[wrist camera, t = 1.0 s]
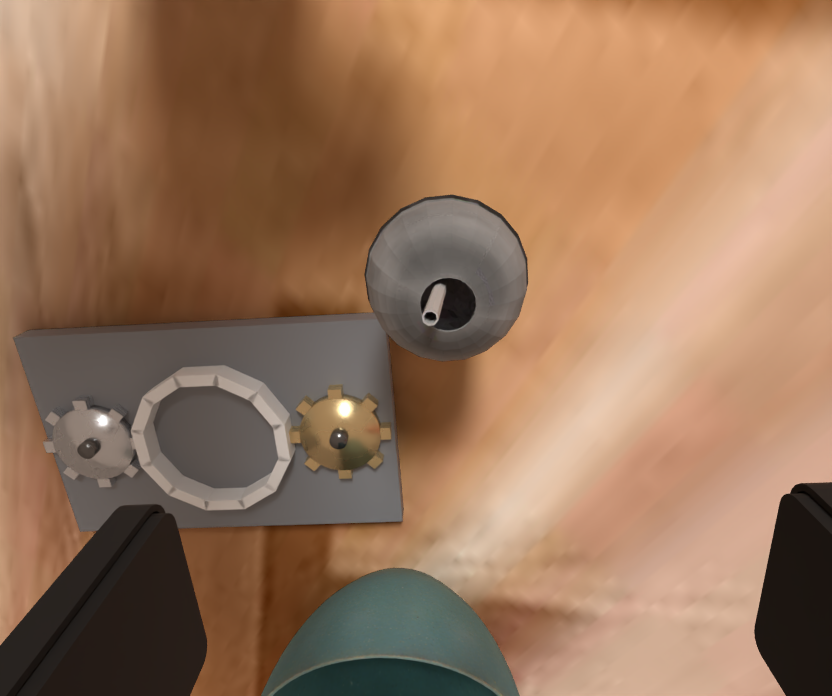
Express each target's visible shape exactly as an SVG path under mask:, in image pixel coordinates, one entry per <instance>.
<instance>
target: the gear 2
mask: <svg viewBox="0 0 832 696" xmlns="http://www.w3.org/2000/svg"><path fill="white" fill-rule="evenodd" d="M327 391H328V395H327V396H324V397H322V398H320V399H318V400H316V401H315V402H314V401H313V400H312V399H310V398H309V397H308V396H305V397H304V398H303V399H302V400H301V401H300V403H299V404H298V405H297V407H296V410H297V411H298V412H300V413H301V414H302V415H304V417H303V419H302V421H301V424H300V426H291V429H290V431H289V436H290V442H291V443H302V446H303V448H304V450H305V451H306V453H307V454H308V455H309V456H308V457H307V458H306V460H305V463H304V464H305V465H306V466H308V467H309V468H310V469H312V470H313V471H315V470H316V469H317V468H318V467H319V466H320V465H322V466H324V467H327V468H330V469H334V470H338V473H339V479H349V478H352V475H353V469H355V468H358V467H360V466H363V465H364V464H366V463H367V464H369V465H370V466H371V467H373V468H374V469H375V468H376V467H377V466H378V465H379V464H380V463H381V462H382V461H383V458H384V454H382V453H381V452H380V451H378V448H379V445H380V440H387V439H391V437H392V429H391V422H382V423H380V420H379V418H378V416H377V414H376V412H375V411H374V409H375V408H376V407H377V406H378V401H379V400H377V399H376V398H375V397H373V396H372V395H371V394H370V393H368V394H367V395H366V396H365V397H364V398H363V399H362V400H361V399H359V398H357V397H354V396H351V395H347V394H344V392H343V384H338V385H329V387H328V390H327Z"/></svg>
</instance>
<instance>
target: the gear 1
mask: <svg viewBox="0 0 832 696" xmlns="http://www.w3.org/2000/svg"><path fill="white" fill-rule="evenodd" d="M72 403H73V406H74V408H73V409H72V410H70V411H69V412H66V411H65V410H63V409H62V408H60V407H59V406H58V407H56V408H55V409H54V410H52V411H51V412H50V414H49V415H48V416H47V418H46V419H45V420H46V421H47V422H49V423H50V424H52V425H53V426H54V429H53V434H52V436H49V437H48V438H47V439H46V440H44V441H43V444H44V447H45V450H46V453H55V452H57V454H58V456H59V457H60V459H61V460H62V461H63V462H64V463H65V464H66V465H67V466H68V467H67V468H66V470H65V471H64V472H63V473H64V474H66V475H67V476H69V477H70V478H72V479H73V480H75V479H76V478H77V477H78V476H79V475H80V474H81V475H83V476H86V477H90V478H95V479H97V481H98V484H99V487H112V486H113V485H114V484H115V483H116V481H117V478H116V476H118V475H119V474H121V473H122V472H124V473H125V474H127V475H128V476H130V477H131V478H132V477H133V476H134V475H135V474H136V473H137V471H138V470H139V469H140V468H141V465H140V462H139V460H137V459H136V458H135V457H136V455H137V451H136V448H135V444H134V441H133V437H132V434H131V428H132V427H131V426H130V424H129V423H128V422H127V421H126V420H125V419H124V417H125V416H126V415H127V413H128V412H129V411H128V410H127V409H125V408H124V407H122V406H121V405H119V404H117V405H116V406H115V407H113V408H112V409H108V408H106V407H102V406H98V405H94V402H93V399H92V395H91V396H78V397H77V398H76V399H74V400H73V401H72Z"/></svg>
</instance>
